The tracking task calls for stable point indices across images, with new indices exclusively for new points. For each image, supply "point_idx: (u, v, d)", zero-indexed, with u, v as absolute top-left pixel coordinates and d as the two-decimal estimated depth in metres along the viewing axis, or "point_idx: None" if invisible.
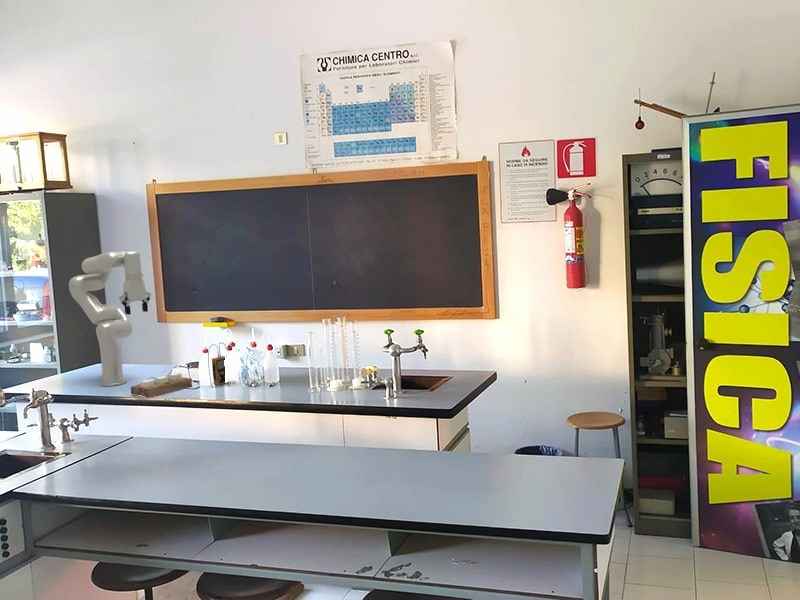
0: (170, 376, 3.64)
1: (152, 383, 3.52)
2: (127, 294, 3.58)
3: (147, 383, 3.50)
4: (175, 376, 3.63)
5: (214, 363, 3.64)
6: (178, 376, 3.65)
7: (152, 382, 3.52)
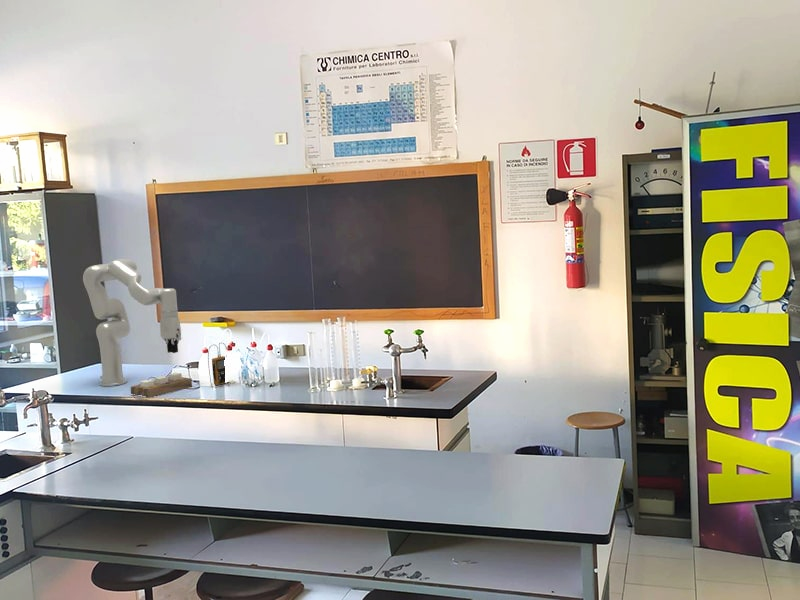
0: (170, 376, 3.64)
1: (152, 383, 3.52)
2: (179, 330, 3.61)
3: (147, 383, 3.50)
4: (175, 376, 3.63)
5: (214, 363, 3.64)
6: (178, 376, 3.65)
7: (152, 382, 3.52)
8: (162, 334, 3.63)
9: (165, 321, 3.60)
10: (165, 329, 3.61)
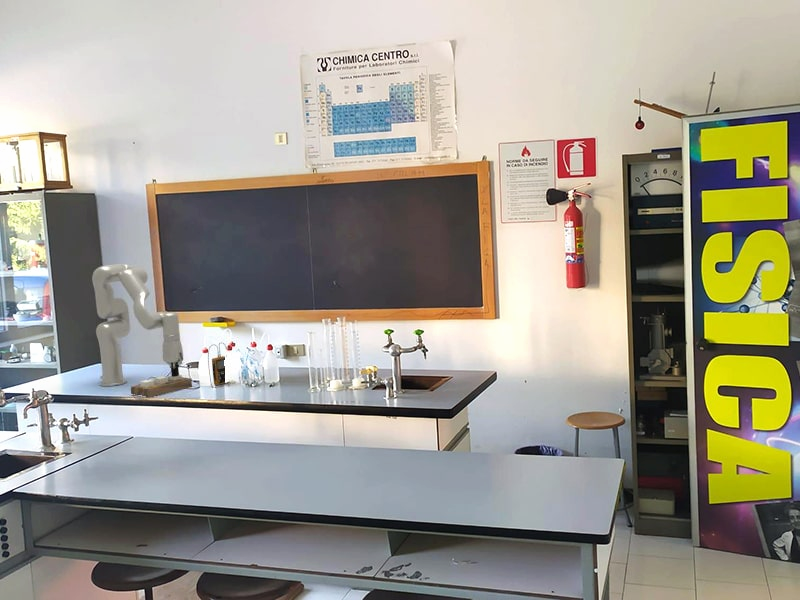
0: (170, 378, 3.64)
1: (152, 383, 3.52)
2: (182, 354, 3.62)
3: (147, 383, 3.50)
4: (175, 378, 3.63)
5: (214, 363, 3.64)
6: (179, 378, 3.65)
7: (152, 382, 3.52)
8: (164, 358, 3.64)
9: (167, 345, 3.61)
10: (168, 353, 3.62)
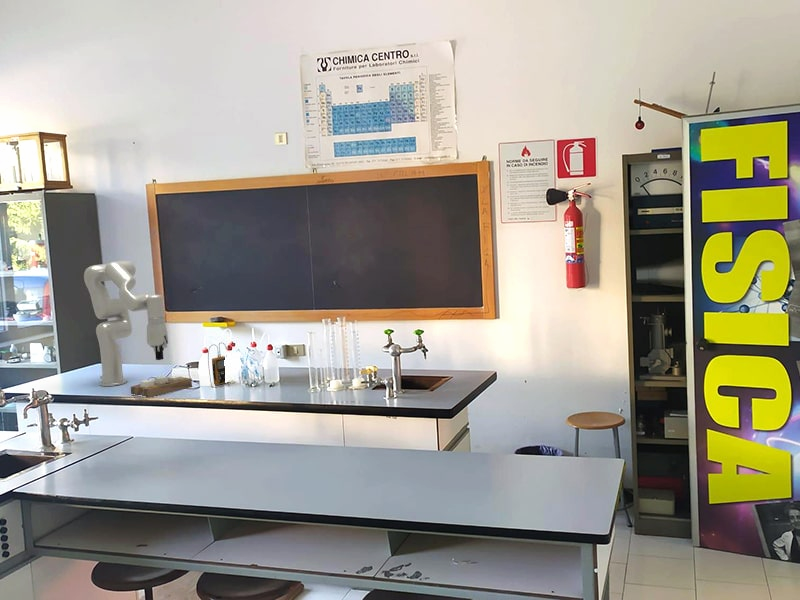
0: (170, 379, 3.64)
1: (152, 383, 3.52)
2: (167, 337, 3.55)
3: (147, 383, 3.50)
4: (175, 379, 3.63)
5: (214, 363, 3.64)
6: None
7: (152, 382, 3.52)
8: (149, 341, 3.56)
9: (152, 328, 3.54)
10: (152, 336, 3.54)
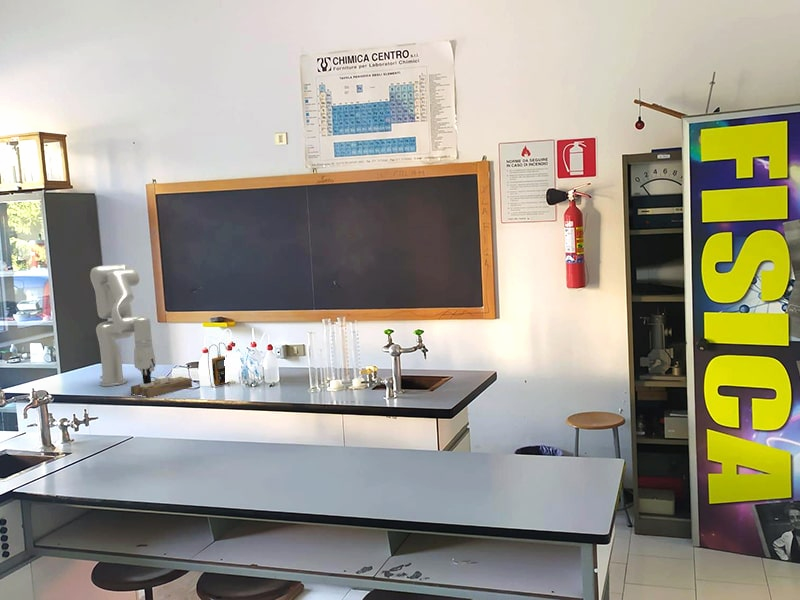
0: (170, 379, 3.64)
1: (152, 385, 3.52)
2: (154, 360, 3.49)
3: (147, 385, 3.50)
4: (175, 379, 3.63)
5: (214, 363, 3.64)
6: None
7: (152, 384, 3.52)
8: (136, 364, 3.51)
9: (139, 351, 3.48)
10: (139, 360, 3.49)
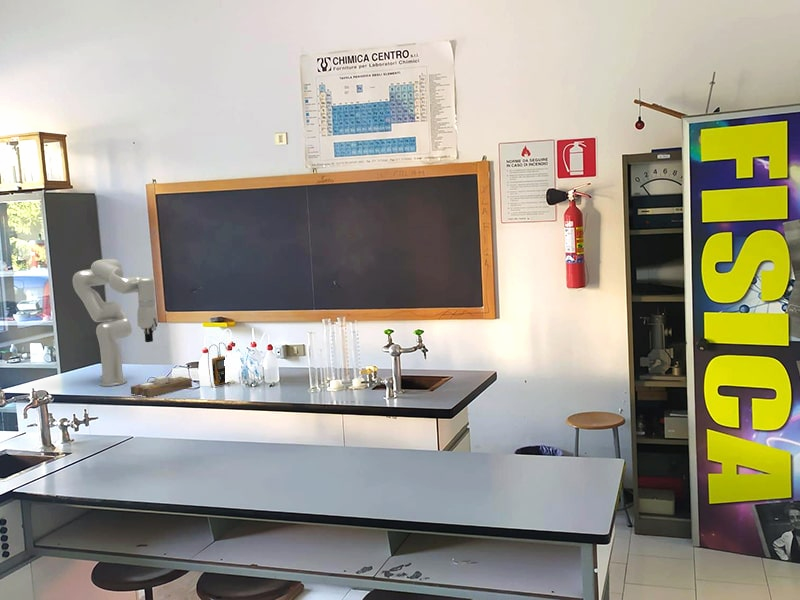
0: (170, 379, 3.64)
1: None
2: (156, 320, 3.60)
3: (147, 386, 3.50)
4: (175, 379, 3.63)
5: (214, 363, 3.64)
6: None
7: (152, 385, 3.52)
8: (139, 323, 3.61)
9: (142, 310, 3.59)
10: (142, 319, 3.59)
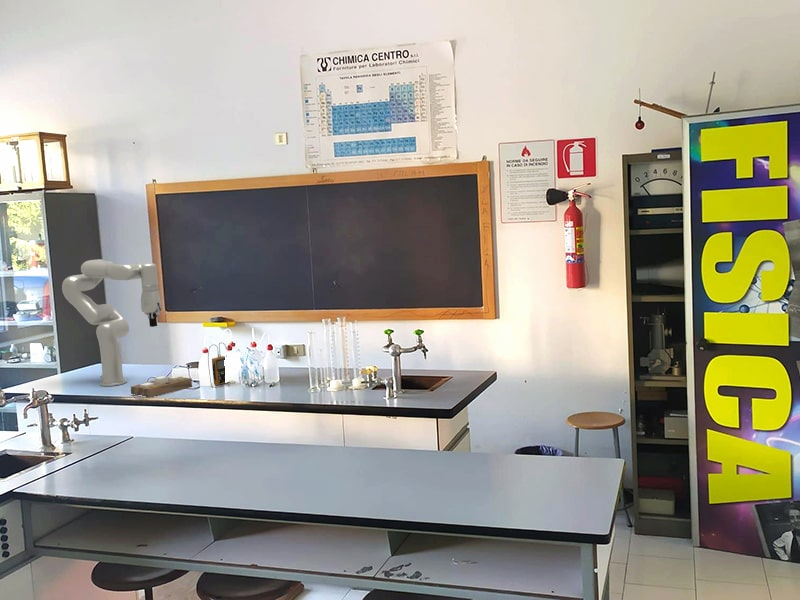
0: (170, 379, 3.64)
1: None
2: (160, 304, 3.67)
3: (147, 386, 3.50)
4: (175, 379, 3.63)
5: (214, 363, 3.64)
6: None
7: (152, 385, 3.52)
8: (143, 308, 3.69)
9: (145, 296, 3.66)
10: (146, 304, 3.67)
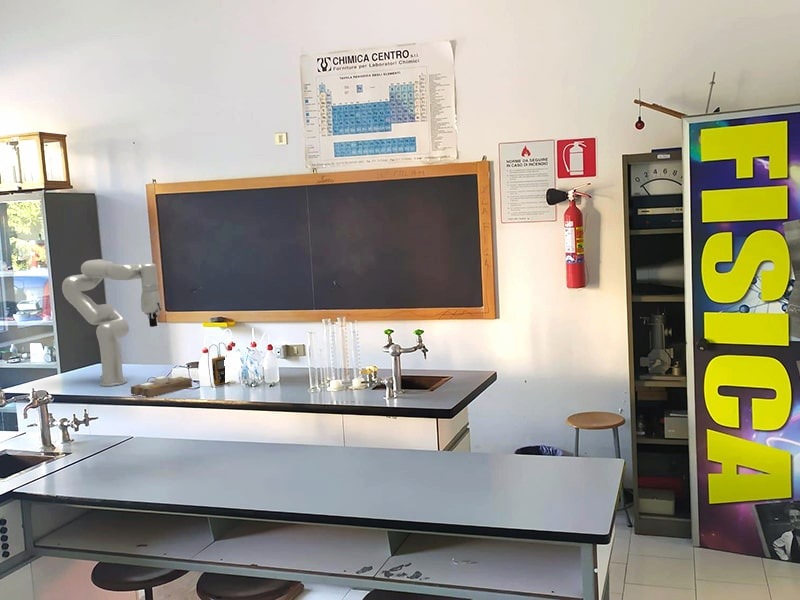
0: (170, 379, 3.64)
1: None
2: (160, 304, 3.67)
3: (147, 386, 3.50)
4: (175, 379, 3.63)
5: (214, 363, 3.64)
6: None
7: (152, 385, 3.52)
8: (143, 308, 3.69)
9: (145, 296, 3.66)
10: (146, 304, 3.67)
